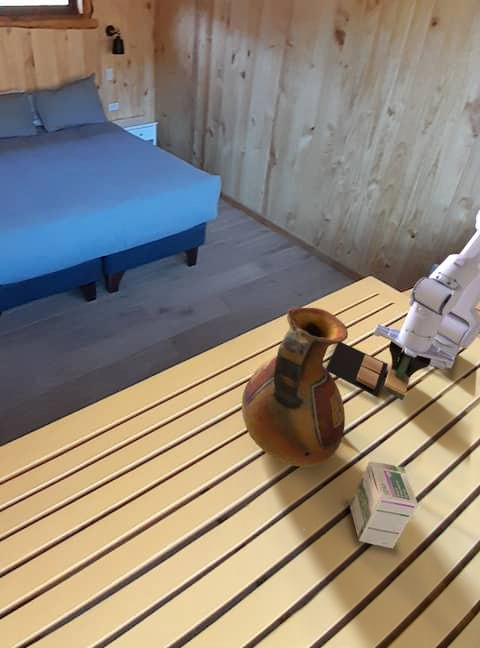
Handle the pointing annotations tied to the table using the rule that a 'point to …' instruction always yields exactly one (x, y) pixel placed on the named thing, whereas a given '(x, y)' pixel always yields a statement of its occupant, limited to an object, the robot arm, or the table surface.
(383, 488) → the syrup box
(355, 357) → the enamel panel
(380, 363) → the chip
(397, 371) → the brush
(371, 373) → the chip
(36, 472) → the table surface
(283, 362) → the ceramic pitcher
